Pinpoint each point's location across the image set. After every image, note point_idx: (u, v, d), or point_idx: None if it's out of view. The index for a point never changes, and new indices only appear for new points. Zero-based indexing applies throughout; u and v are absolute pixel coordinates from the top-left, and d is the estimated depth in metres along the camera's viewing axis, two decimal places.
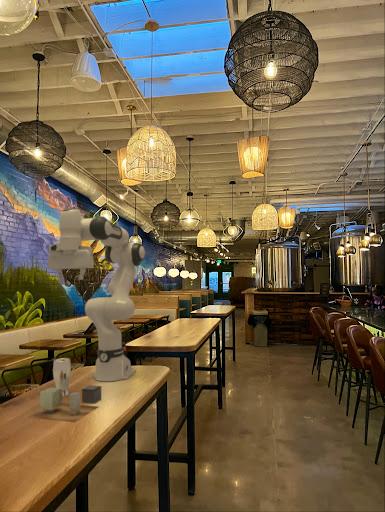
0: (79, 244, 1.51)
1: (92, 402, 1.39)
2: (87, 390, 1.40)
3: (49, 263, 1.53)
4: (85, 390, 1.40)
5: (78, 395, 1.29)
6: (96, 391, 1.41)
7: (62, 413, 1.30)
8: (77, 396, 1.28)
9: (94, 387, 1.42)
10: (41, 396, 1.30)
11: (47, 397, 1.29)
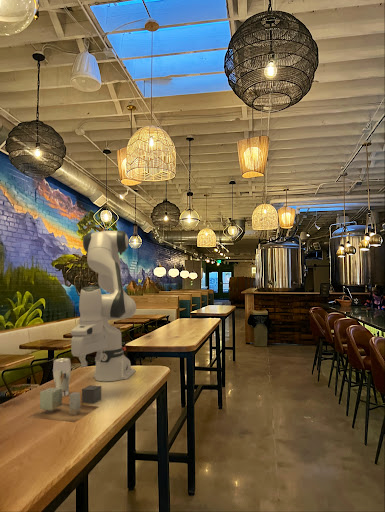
0: None
1: (92, 402, 1.39)
2: (87, 390, 1.40)
3: (81, 349, 1.34)
4: (85, 390, 1.40)
5: (78, 395, 1.29)
6: (96, 391, 1.41)
7: (62, 413, 1.30)
8: (77, 396, 1.28)
9: (94, 387, 1.42)
10: (41, 396, 1.30)
11: (47, 397, 1.29)
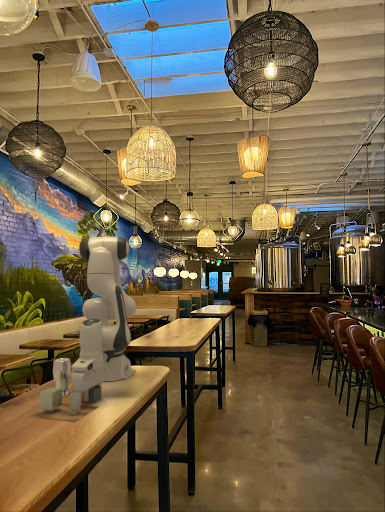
0: None
1: (92, 402, 1.39)
2: None
3: (82, 386, 1.33)
4: None
5: (78, 395, 1.29)
6: (96, 391, 1.41)
7: (62, 413, 1.30)
8: (77, 396, 1.28)
9: (94, 387, 1.42)
10: (41, 396, 1.30)
11: (47, 397, 1.29)
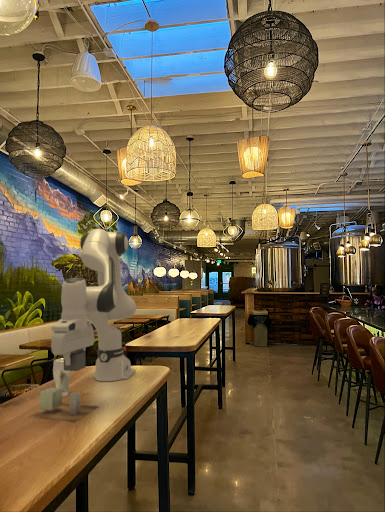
0: None
1: (75, 366, 1.26)
2: None
3: (63, 347, 1.21)
4: None
5: (78, 395, 1.29)
6: (79, 355, 1.28)
7: (62, 413, 1.30)
8: (77, 396, 1.28)
9: (77, 351, 1.30)
10: (41, 396, 1.30)
11: (47, 397, 1.29)
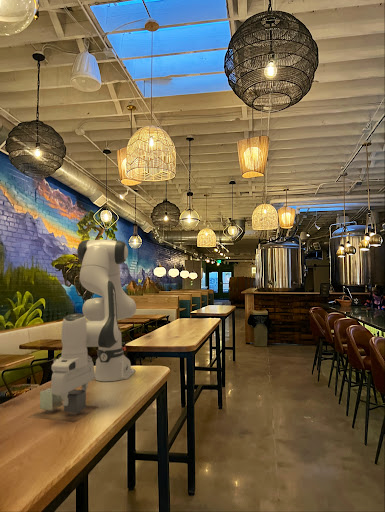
0: None
1: (75, 408, 1.26)
2: (69, 395, 1.27)
3: (63, 387, 1.20)
4: (67, 395, 1.27)
5: None
6: (80, 396, 1.27)
7: (62, 413, 1.30)
8: None
9: (78, 391, 1.29)
10: (41, 396, 1.30)
11: (47, 397, 1.29)
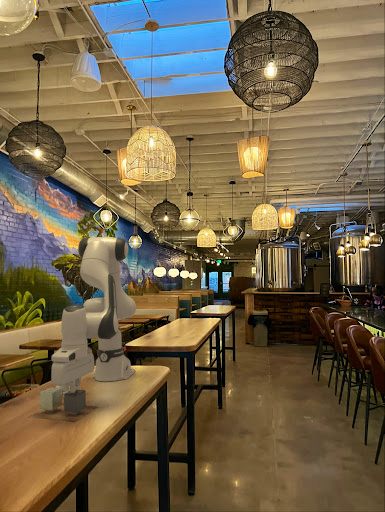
0: None
1: (75, 408, 1.26)
2: (69, 395, 1.27)
3: (63, 378, 1.20)
4: (67, 395, 1.27)
5: None
6: (80, 396, 1.27)
7: (62, 413, 1.30)
8: None
9: (78, 391, 1.29)
10: (41, 396, 1.30)
11: (47, 397, 1.29)
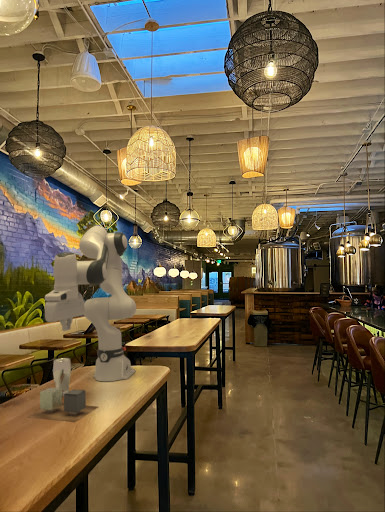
0: None
1: (75, 408, 1.26)
2: (69, 395, 1.27)
3: (55, 315, 1.32)
4: (67, 395, 1.27)
5: None
6: (80, 396, 1.27)
7: (62, 413, 1.30)
8: None
9: (78, 391, 1.29)
10: (41, 396, 1.30)
11: (47, 397, 1.29)
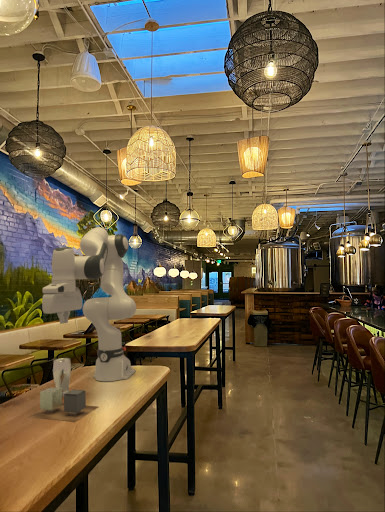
0: None
1: (75, 408, 1.26)
2: (69, 395, 1.27)
3: (52, 306, 1.35)
4: (67, 395, 1.27)
5: None
6: (80, 396, 1.27)
7: (62, 413, 1.30)
8: None
9: (78, 391, 1.29)
10: (41, 396, 1.30)
11: (47, 397, 1.29)
